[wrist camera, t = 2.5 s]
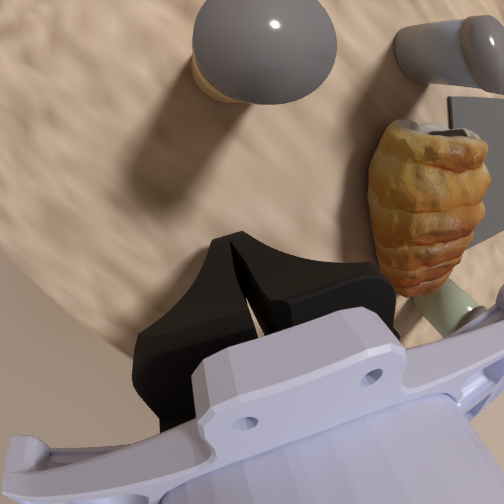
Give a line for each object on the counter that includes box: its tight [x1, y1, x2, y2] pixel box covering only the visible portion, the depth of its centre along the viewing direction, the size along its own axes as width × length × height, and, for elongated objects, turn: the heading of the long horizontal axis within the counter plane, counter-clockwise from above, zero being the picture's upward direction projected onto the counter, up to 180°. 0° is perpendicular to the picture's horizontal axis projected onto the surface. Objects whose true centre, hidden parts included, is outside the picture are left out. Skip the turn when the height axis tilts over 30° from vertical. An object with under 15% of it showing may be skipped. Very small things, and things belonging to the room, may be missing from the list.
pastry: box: [367, 119, 492, 298], centre depth 12 cm, size 9×7×4 cm
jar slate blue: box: [395, 15, 504, 95], centre depth 8 cm, size 3×3×5 cm
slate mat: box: [449, 97, 504, 250], centre depth 14 cm, size 10×10×1 cm
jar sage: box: [413, 278, 487, 338], centre depth 15 cm, size 3×3×5 cm
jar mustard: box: [191, 0, 337, 105], centre depth 7 cm, size 3×3×5 cm
